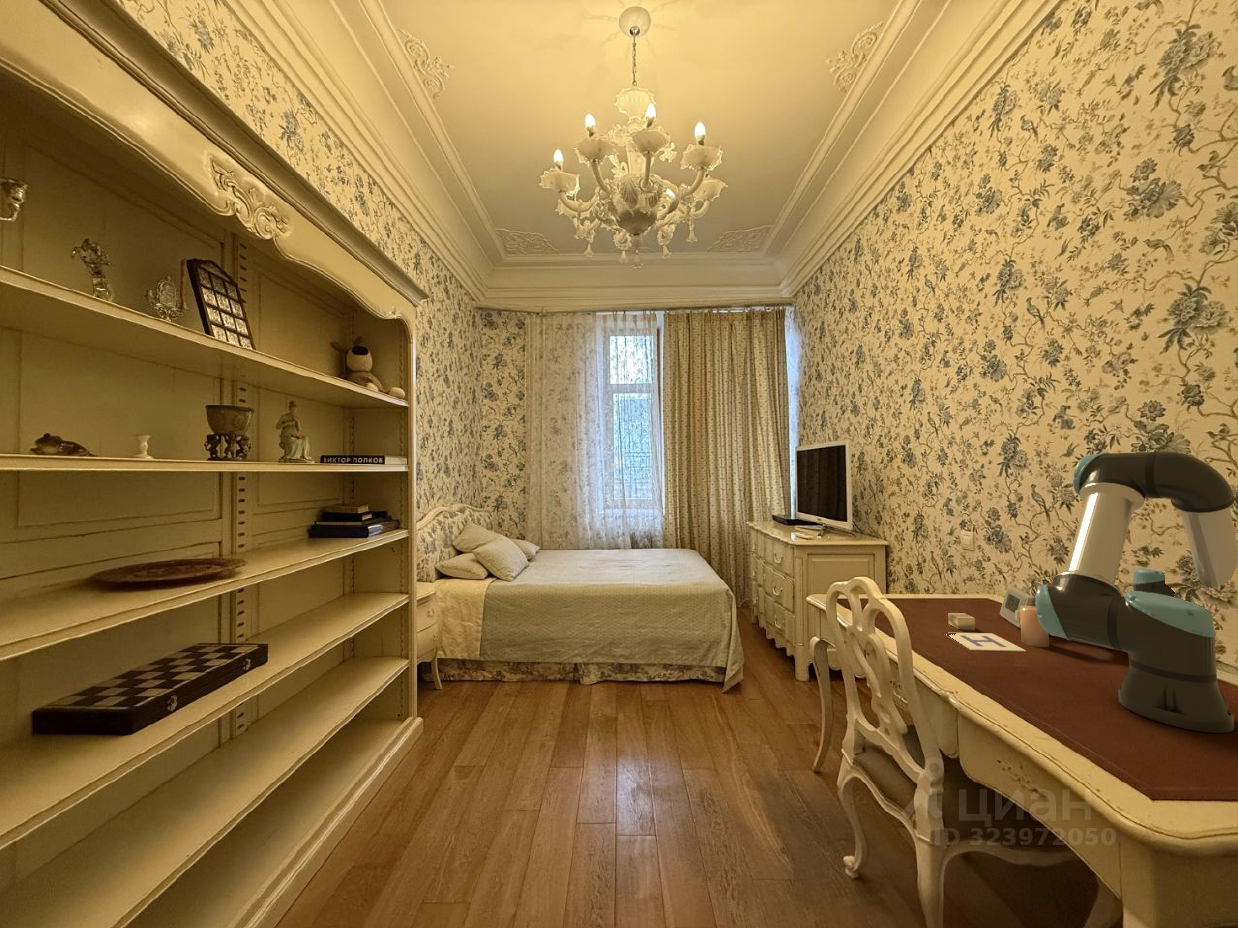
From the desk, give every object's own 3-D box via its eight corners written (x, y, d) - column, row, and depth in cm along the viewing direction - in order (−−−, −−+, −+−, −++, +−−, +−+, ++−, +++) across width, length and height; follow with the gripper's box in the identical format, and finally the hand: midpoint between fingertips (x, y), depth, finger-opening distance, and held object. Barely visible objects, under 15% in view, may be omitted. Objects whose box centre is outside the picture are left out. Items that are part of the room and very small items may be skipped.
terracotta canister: (1055, 647, 131) (1053, 611, 131) (1031, 646, 132) (1029, 611, 132) (1038, 640, 137) (1037, 605, 137) (1016, 639, 138) (1014, 605, 138)
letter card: (1026, 651, 128) (1026, 650, 128) (971, 650, 130) (971, 649, 130) (992, 634, 142) (992, 633, 142) (942, 633, 144) (942, 632, 144)
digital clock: (999, 616, 159) (995, 584, 160) (1033, 617, 155) (1029, 585, 155) (1008, 630, 146) (1003, 596, 146) (1046, 632, 141) (1041, 597, 142)
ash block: (975, 630, 146) (974, 617, 146) (958, 630, 147) (957, 617, 147) (965, 625, 151) (964, 613, 151) (948, 625, 152) (948, 613, 152)
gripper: (1161, 654, 119) (1068, 651, 122) (1079, 623, 144) (1003, 621, 147) (1160, 624, 120) (1067, 622, 122) (1078, 599, 144) (1002, 598, 147)
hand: (1032, 622), depth 135 cm, fingers open, 13 cm apart
